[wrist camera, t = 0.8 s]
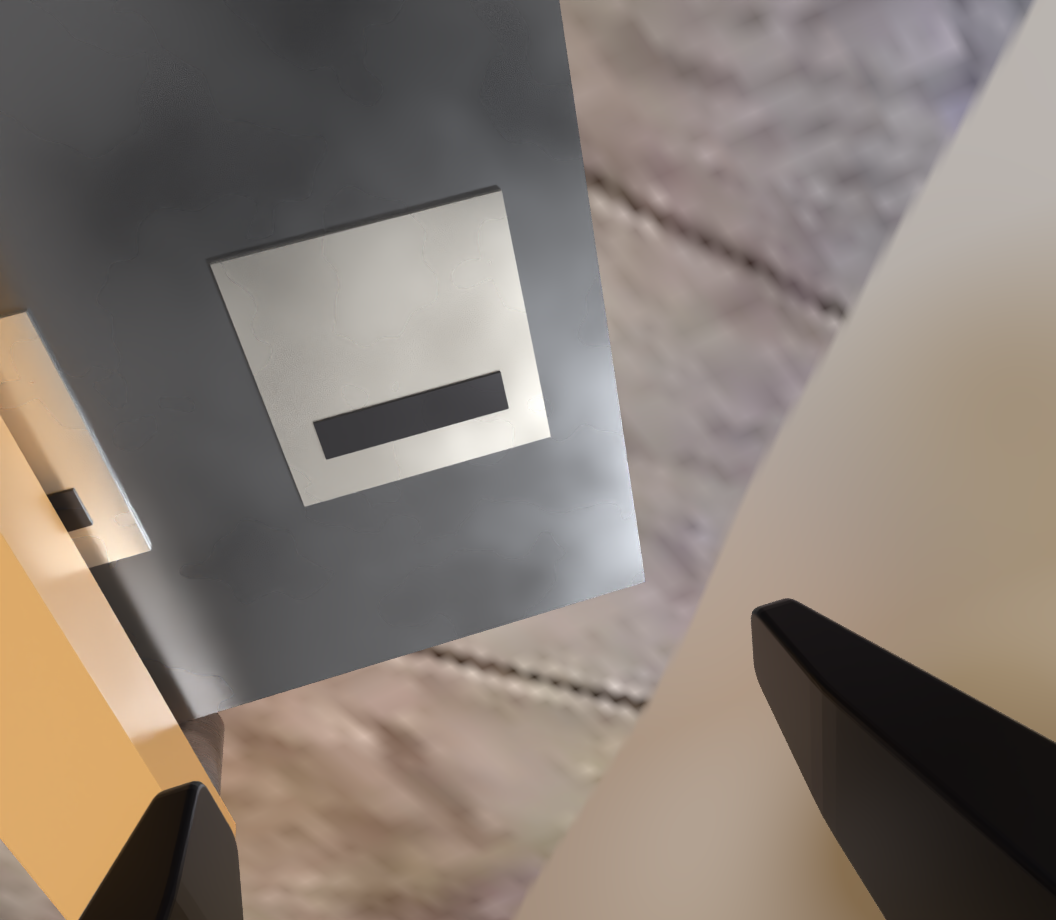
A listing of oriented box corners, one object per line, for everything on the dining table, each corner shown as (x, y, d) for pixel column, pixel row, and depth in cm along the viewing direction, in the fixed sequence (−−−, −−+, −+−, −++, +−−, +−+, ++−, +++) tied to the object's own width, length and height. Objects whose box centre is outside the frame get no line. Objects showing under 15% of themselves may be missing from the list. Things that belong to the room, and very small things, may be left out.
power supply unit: (625, 624, 26) (666, 707, 23) (46, 802, 24) (17, 914, 21) (497, -131, 16) (541, -140, 13) (-486, 85, 14) (-660, 124, 12)
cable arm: (256, 859, 22) (254, 938, 20) (130, 900, 22) (118, 984, 20) (-177, 107, 13) (-247, 137, 11) (-410, 160, 12) (-519, 199, 11)
